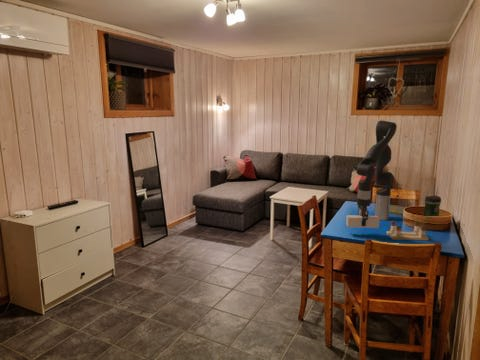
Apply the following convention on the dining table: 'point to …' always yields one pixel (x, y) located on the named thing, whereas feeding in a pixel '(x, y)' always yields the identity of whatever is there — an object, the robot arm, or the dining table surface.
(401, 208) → the decorative tile
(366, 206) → the robot arm
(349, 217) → the beige long block
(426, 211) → the coffee jar
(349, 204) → the dining table surface
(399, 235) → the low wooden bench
